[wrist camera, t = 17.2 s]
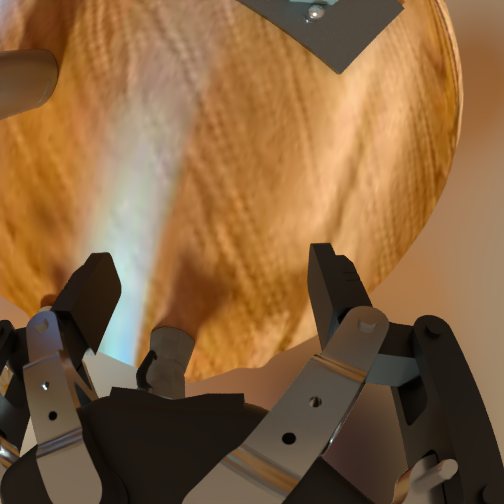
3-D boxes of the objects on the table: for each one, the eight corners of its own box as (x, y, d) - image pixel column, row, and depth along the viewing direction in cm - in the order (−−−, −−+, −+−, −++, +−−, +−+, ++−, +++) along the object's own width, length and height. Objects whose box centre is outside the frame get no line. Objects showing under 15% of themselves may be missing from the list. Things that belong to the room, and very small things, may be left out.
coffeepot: (203, 360, 59) (195, 438, 44) (161, 361, 60) (147, 435, 45) (181, 307, 51) (163, 397, 36) (134, 311, 52) (106, 393, 37)
